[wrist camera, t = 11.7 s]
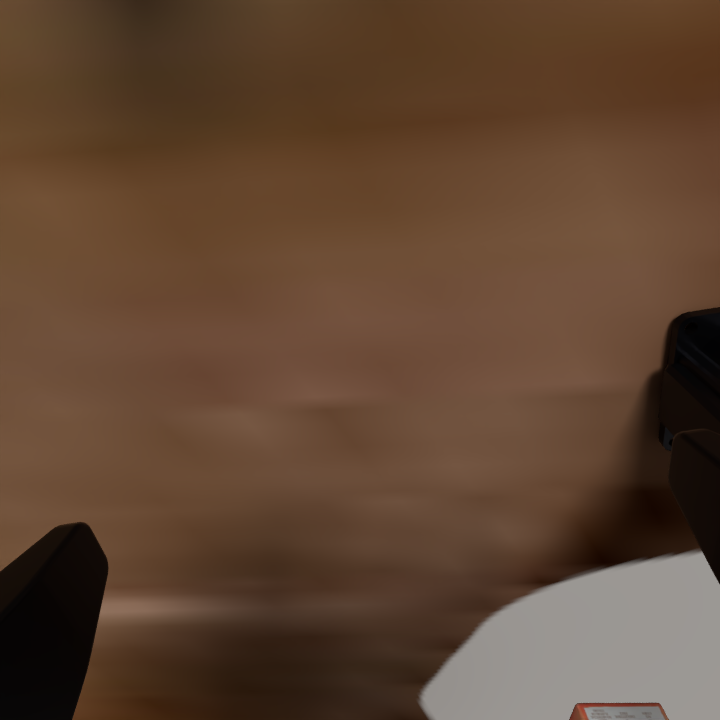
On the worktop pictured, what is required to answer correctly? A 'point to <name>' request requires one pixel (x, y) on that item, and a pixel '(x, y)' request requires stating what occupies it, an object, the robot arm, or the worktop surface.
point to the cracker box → (618, 711)
